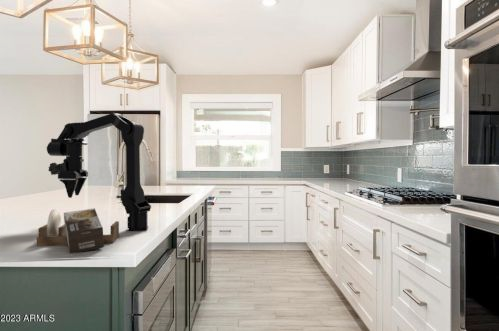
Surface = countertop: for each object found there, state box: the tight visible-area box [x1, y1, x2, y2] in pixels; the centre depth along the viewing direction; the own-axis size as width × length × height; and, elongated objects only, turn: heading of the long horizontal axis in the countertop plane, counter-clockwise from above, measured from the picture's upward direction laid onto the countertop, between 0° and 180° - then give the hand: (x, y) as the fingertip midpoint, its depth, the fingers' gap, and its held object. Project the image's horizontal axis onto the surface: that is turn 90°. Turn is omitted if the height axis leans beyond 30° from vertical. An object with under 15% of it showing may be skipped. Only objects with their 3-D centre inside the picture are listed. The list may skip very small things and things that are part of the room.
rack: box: [36, 209, 120, 247], centre depth 114 cm, size 22×10×10 cm, turn 101°
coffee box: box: [63, 207, 105, 254], centre depth 107 cm, size 9×6×16 cm
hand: (73, 196), depth 141 cm, fingers open, 9 cm apart
